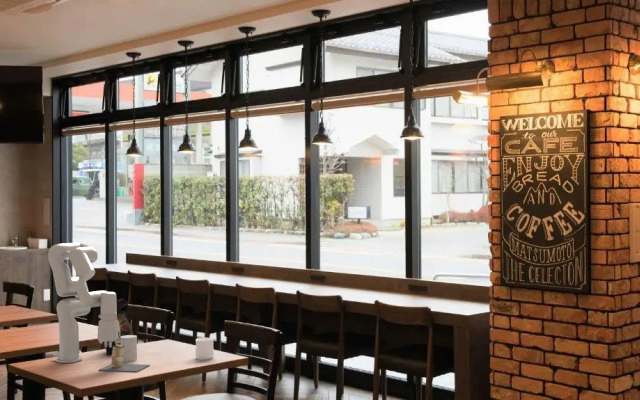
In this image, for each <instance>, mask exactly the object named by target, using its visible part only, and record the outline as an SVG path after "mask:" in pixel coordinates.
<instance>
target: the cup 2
mask: <svg viewBox="0 0 640 400" xmlns="http://www.w3.org/2000/svg"><path fill="white" fill-rule="evenodd" d="M214 352H215V351H214V338H212V337H198V338H196V339H195V359H196V360H199V361H205V360H206V361H207V360H212V359H213V358H214V354H215V353H214Z"/></svg>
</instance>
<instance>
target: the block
mask: <svg viewBox="0 0 640 400" xmlns="http://www.w3.org/2000/svg"><path fill="white" fill-rule="evenodd" d="M123 355H124V345H118V344H117V345H114V346H113V353H112V355H111V363H110V364H111V367H116V368H120V367H122V365H123V364H124V362H123Z"/></svg>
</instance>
